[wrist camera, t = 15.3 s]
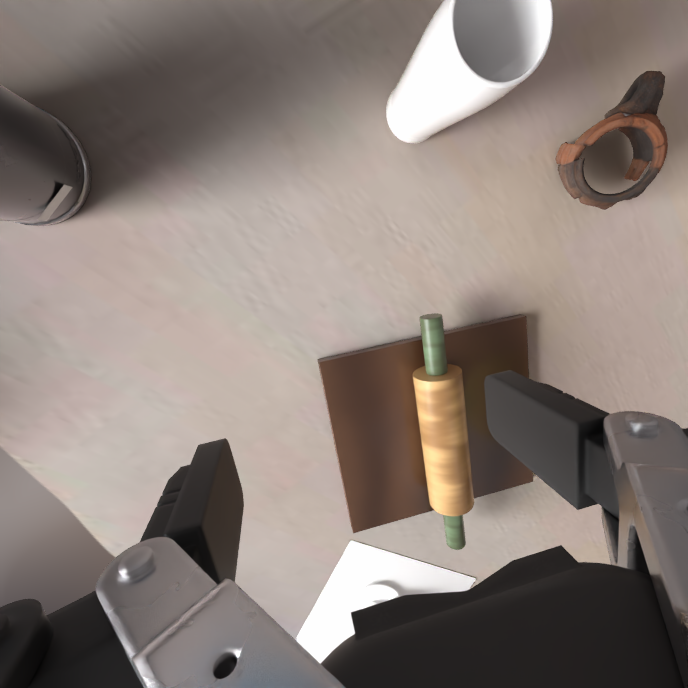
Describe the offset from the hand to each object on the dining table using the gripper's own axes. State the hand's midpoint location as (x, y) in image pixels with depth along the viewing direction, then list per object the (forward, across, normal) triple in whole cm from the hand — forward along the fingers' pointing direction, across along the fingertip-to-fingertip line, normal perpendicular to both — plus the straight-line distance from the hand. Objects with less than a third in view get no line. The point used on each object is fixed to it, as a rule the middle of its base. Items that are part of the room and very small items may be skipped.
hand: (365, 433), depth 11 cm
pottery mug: (+28, -34, -10) cm, 45 cm away
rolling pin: (+27, -12, +17) cm, 34 cm away
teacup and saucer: (+28, -2, +44) cm, 52 cm away
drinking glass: (+28, -14, -16) cm, 35 cm away
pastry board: (+28, -13, +17) cm, 35 cm away
